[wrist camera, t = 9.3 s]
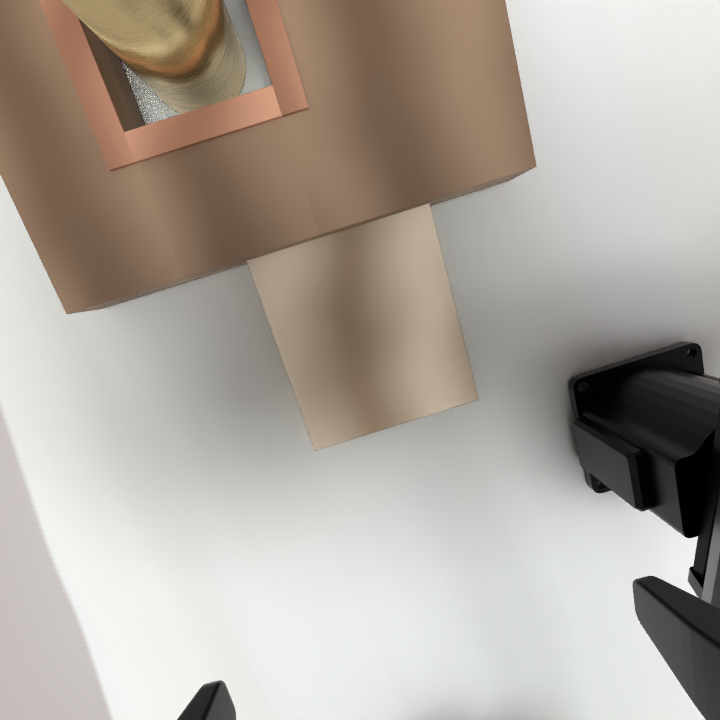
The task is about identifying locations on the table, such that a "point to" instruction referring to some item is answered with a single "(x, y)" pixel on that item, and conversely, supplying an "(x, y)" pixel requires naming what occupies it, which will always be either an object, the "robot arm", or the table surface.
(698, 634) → the robot arm
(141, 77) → the brass peg
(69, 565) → the table surface
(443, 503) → the table surface
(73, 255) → the walnut board
